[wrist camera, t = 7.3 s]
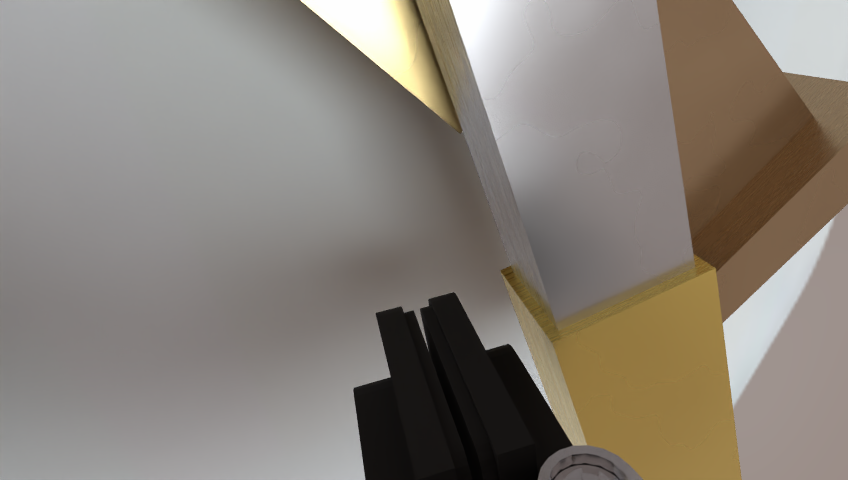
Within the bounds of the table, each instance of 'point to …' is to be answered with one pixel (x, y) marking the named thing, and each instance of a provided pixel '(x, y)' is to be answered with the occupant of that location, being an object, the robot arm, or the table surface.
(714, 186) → the valve body
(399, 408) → the robot arm
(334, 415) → the table surface
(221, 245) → the table surface
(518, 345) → the table surface
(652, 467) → the lever
